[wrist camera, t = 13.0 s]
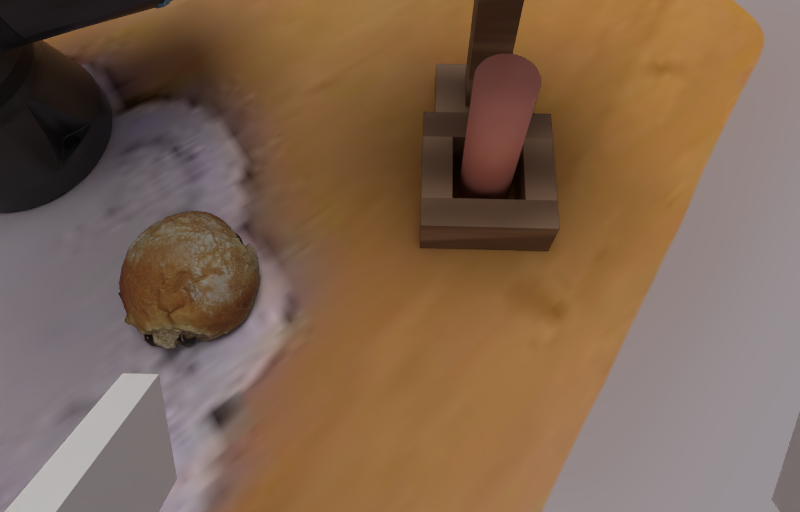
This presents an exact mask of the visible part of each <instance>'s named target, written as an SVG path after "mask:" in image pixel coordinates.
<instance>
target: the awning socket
mask: <svg viewBox="0 0 800 512" xmlns="http://www.w3.org/2000/svg"><path fill="white" fill-rule="evenodd" d="M523 3H524V0H474V7H473V15H472V24H471V32H470V41H469V49H468V58H467V64H436V96H435V112H424V117H423V153H422V190H421V227H420V248H453V249H492V250H531V251H548V250H549V248H550V246H551V244H552V242H553V240H554V238H555V236H556V235H557V233H558V231H559V229H560V228H559V215H558V201H557V188H556V175H555V162H554V148H553V135H552V122H551V114H532V117H531V120H530V123H529V127H528V130H527V133H526V136H525V140H524V143H523V146H522V150H521V153H520V156H519V160H518V163H517V166H516V170H515V186H516V200H512V199H468V198H452V173H453V164H457V165H462V160H463V152H464V145H465V138H466V131H467V124H468V116H469V109H470V102H471V95H472V88H473V80H474V74H475V71H476V69H477V67H478V66H479V64H480V63H481V62H482V61H484V60H485V59H487V58H488V57H491V56H493V55H497V54H513V49H514V44H515V40H516V35H517V30H518V26H519V21H520V17H521V12H522V7H523Z"/></svg>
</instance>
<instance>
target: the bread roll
mask: <svg viewBox="0 0 800 512" xmlns="http://www.w3.org/2000/svg"><path fill="white" fill-rule="evenodd" d="M259 282H260V275H259V268H258V257H257V255H256V251H255V249H254V248H253V247H252V246H251V245H250V244H248V245H247V246H244V244H243V242H242V240H241V238H240V237H239V236H238V234H236V233H234V232H233V231H232V230H231V227H229V226H228V225H227V224H226V223H225V222H224V221H223V220H221V219H220V218H218V217H216V216H214V215H212V214H210V213H206V212H200V211H191V212H183V213H179V214H175V215H171V216H168V217H166V218H165V219H164V220H162V221H159V222H157V223H155V224H153V225H152V226H150V227H149V228H148V229H146V230H145V231H144V232H143V233H142V234H141V235H139V236H138V238H137V239H136V240H135V241H134V243H133V244H132V245H131V246H130V248H129V250H128V252H127V255H126V258H125V261H124V263H123V266H122V271H121V276H120V281H119V286H120V292H119V293H118V294H119V295H120V297H121V299H122V301H123V304H124V308H125V310H126V312H127V315H126V318H125V322H126V323H128V324H130V325H133V326H134V327H136V328H137V329H138V330H139V331H140V333H142V334H143V335H144V337H145V341H146V342H147V343H149V344H150V345H152V346H157V347H158V346H162V347H163V348H166V349H170V348H176V346H175V345H176V343H181V344H182V345H185V346H186V347H187V346H189V345H192V344H194V343H195V342H196V341H206V340H207V341H209V340H213V339H215V338H217V337H219V336H221V335H223V334H228V332H229V331H231V330H232V329H234V328H235V327H236V326H238V325H239V324H240V323H241V322H242V321H244V320H245V319H246V317H247V314H248V313H249V311H250V309H251V307H252V306H253V302H254V298H255V295H256V293H257V290H258V287H259Z"/></svg>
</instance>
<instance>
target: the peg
mask: <svg viewBox="0 0 800 512" xmlns="http://www.w3.org/2000/svg"><path fill="white" fill-rule="evenodd" d="M540 87H541V77H540V74H539V71H538V70H537V68H536V67H535V66H534V65H533V64H532V63H531V62H530V61H529V60H527V59H526V58H523V57H521V56H518V55H515V54H497V55H493V56H491V57H488V58H487V59H485V60H484V61H482V62H481V63H480V64H479V66H478V67H477V69H476V71H475V74H474V80H473V88H472V95H471V102H470V109H469V116H468V124H467V131H466V138H465V145H464V152H463V160H462V167H461V174H460V181H459V188H458V198H468V199H507V196H508V193H509V190H510V186H511V183H512V180H513V176H514V173H515V170H516V166H517V163H518V160H519V156H520V153H521V150H522V146H523V143H524V140H525V136H526V133H527V130H528V127H529V123H530V120H531V117H532V113H533V110H534V107H535V103H536V100H537V97H538V93H539V90H540Z"/></svg>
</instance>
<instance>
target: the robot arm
mask: <svg viewBox="0 0 800 512" xmlns="http://www.w3.org/2000/svg"><path fill="white" fill-rule="evenodd" d="M170 1H173V0H0V212H13V211H20V210H25V209H29V208H32V207H35V206H39V205H41V204H44V203H46V202H48V201H51V200H53V199H55V198H57V197H58V196H60V195H62V194H63V193H65V192H67V191H68V190H69V189H71V188H72V187H74V186H75V185H76V184H77V183H78V182H80V181H81V180H82V179H83V178H84V177H85V176H86V175H87V174H88V173H89V172H90V171H91V170H92V168H93V167H94V166H95V165H96V163H97V162H98V160H99V159H100V157H101V155H102V154H103V152H104V150H105V148H106V145H107V143H108V140H109V137H110V133H111V126H112V115H111V109H110V105H109V102H108V99H107V97H106V95H105V94H104V92H103V91H102V89H101V88H100V87H99V85H98V84H97V83H96V81H95V80H94V79H93V77H92V76H91V75H90V74H89V73H88V72H87V71H86V70H85V69H84V68H83V67H82V66H81V65H80V64H78V63H77V62H75V61H74V60H72V59H71V58H69V57H68V56H66V55H64V54H63V53H61V52H60V51H58V50H57V49H55V48H54V47H52V46H50V45H49V44H47V43H46V42H44V41H43V39H47V38H50V37H53V36H57V35H60V34H63V33H67V32H70V31H73V30H77V29H80V28H84V27H87V26H91V25H94V24H98V23H102V22H105V21H109V20H112V19H116V18H119V17H123V16H127V15H130V14H134V13H137V12H141V11H144V10H148V9H152V8H161V7H165V6H166V5H168V4H169V3H170ZM176 479H177V477H176V471H175V465H174V459H173V454H172V448H171V442H170V436H169V430H168V425H167V419H166V413H165V407H164V401H163V396H162V390H161V384H160V378H159V374H134V373H122V374H121V376H120V377H119V378H118V379H117V380H116V381H115V383H114V384H113V385H112V386H111V387H110V388H109V390H108V391H107V392H106V393H105V394H104V395H103V397H102V398H101V399H100V400H99V401H98V403H97V404H96V405H95V406H94V407H93V408H92V410H91V411H90V412H89V413H88V414H87V415H86V417H85V418H84V419H83V420H82V421H81V422H80V424H79V425H78V426H77V427H76V428H75V429H74V431H73V432H72V433H71V434H70V435H69V437H68V438H67V439H66V440H65V441H64V442H63V444H62V445H61V446H60V447H59V448H58V449H57V451H56V452H55V453H54V454H53V455H52V456H51V458H50V459H49V460H48V461H47V462H46V464H45V465H44V466H43V467H42V468H41V469H40V471H39V472H38V473H37V474H36V475H35V476H34V478H33V479H32V480H31V481H30V482H29V483H28V485H27V486H26V487H25V488H24V489H23V490H22V492H21V493H20V494H19V495H18V496H17V498H16V499H15V500H14V501H13V502H12V503H11V505H10V506H9V507H8V508H7V509H6V510H5V512H159V510H160V509H161V507H162V505H163V503H164V501H165V499H166V497H167V496H168V494H169V492H170V490H171V488H172V486H173V484H174V483H175V481H176ZM772 501H773V502H774V504H775V505H776V506H777V508H778V509H779V511H780V512H800V413H799V416H798V419H797V422H796V425H795V428H794V432H793V435H792V438H791V441H790V444H789V447H788V450H787V453H786V457H785V460H784V463H783V466H782V469H781V472H780V475H779V478H778V482H777V485H776V488H775V491H774V494H773V497H772Z"/></svg>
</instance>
